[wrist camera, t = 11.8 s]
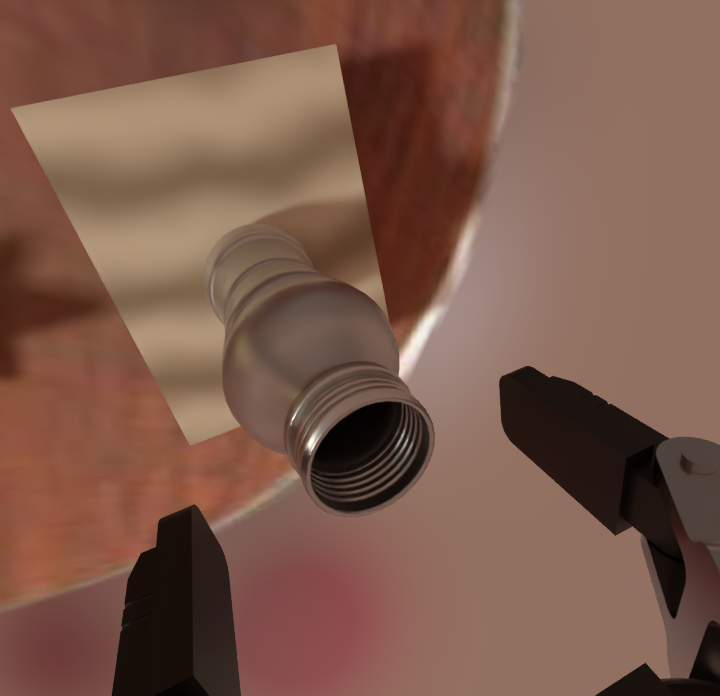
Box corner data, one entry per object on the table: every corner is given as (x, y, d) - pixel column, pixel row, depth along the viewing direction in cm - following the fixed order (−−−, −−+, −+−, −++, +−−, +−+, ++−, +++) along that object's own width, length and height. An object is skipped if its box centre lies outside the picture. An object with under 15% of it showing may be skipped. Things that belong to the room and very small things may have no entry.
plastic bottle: (316, 239, 28) (523, 367, 11) (282, 330, 30) (418, 560, 13) (219, 200, 25) (303, 297, 8) (187, 304, 27) (203, 563, 10)
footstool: (54, 119, 27) (10, 108, 20) (303, 68, 31) (336, 44, 24) (189, 393, 38) (190, 445, 31) (363, 330, 41) (397, 365, 35)
